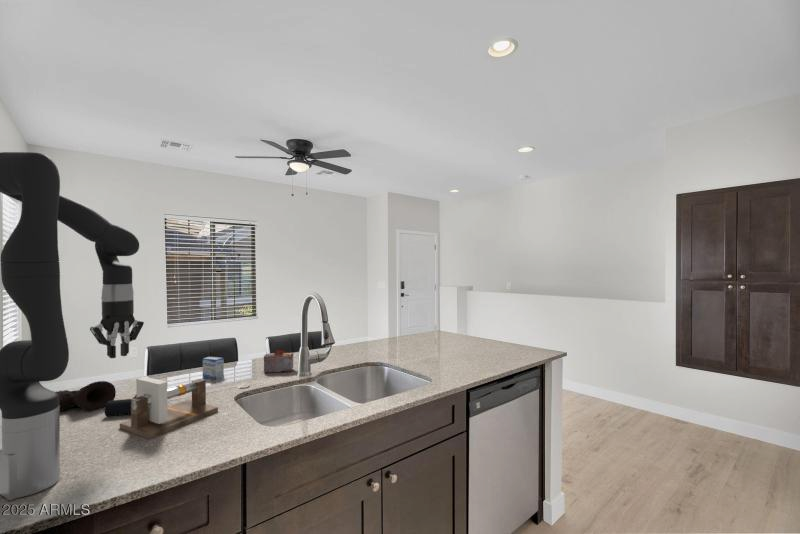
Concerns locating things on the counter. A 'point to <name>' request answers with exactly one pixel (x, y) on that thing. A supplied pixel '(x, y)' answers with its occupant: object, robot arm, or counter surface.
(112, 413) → the pipe connector
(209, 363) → the medicine box
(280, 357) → the food item
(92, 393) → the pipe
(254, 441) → the counter surface
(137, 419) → the pipe stand
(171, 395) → the steel pipe
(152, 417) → the white flat block
